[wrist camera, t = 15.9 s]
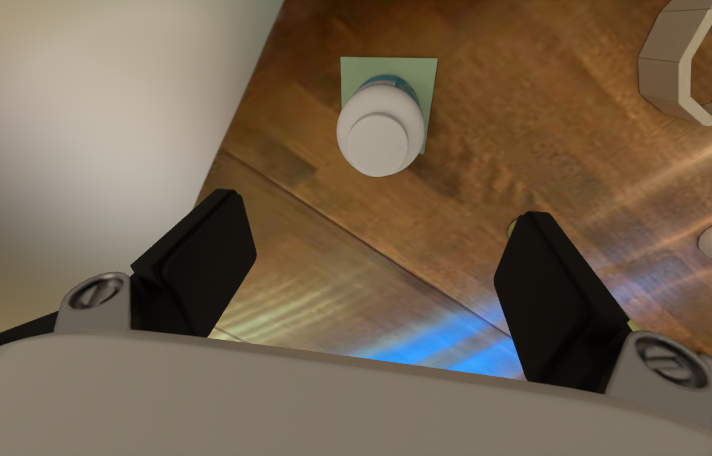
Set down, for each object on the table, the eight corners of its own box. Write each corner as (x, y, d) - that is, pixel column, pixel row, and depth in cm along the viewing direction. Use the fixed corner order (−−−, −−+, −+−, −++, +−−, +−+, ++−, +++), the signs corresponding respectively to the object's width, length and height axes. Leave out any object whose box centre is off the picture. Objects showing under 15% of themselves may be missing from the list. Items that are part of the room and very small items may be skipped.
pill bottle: (420, 137, 33) (429, 189, 22) (359, 145, 35) (339, 198, 24) (416, 64, 29) (425, 85, 18) (347, 77, 31) (316, 104, 20)
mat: (341, 56, 30) (340, 57, 30) (437, 58, 29) (437, 58, 29) (343, 148, 36) (342, 150, 36) (423, 153, 35) (424, 154, 35)
